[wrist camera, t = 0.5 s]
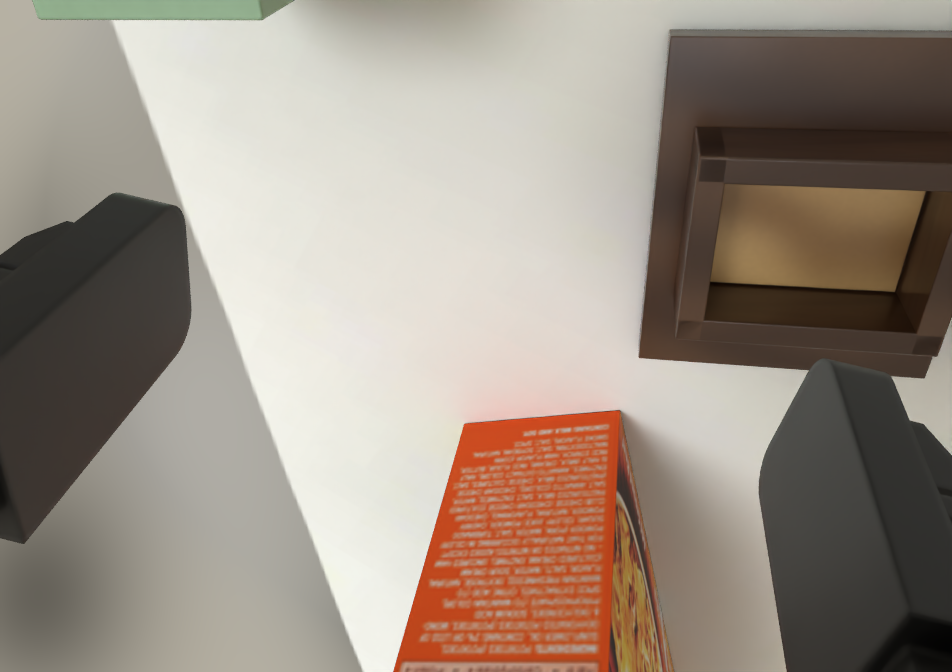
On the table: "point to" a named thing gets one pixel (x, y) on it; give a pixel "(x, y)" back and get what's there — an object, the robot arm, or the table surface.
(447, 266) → the table surface
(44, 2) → the green block
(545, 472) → the pasta box
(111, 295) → the robot arm
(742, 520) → the table surface
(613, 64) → the table surface
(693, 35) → the slot tray
